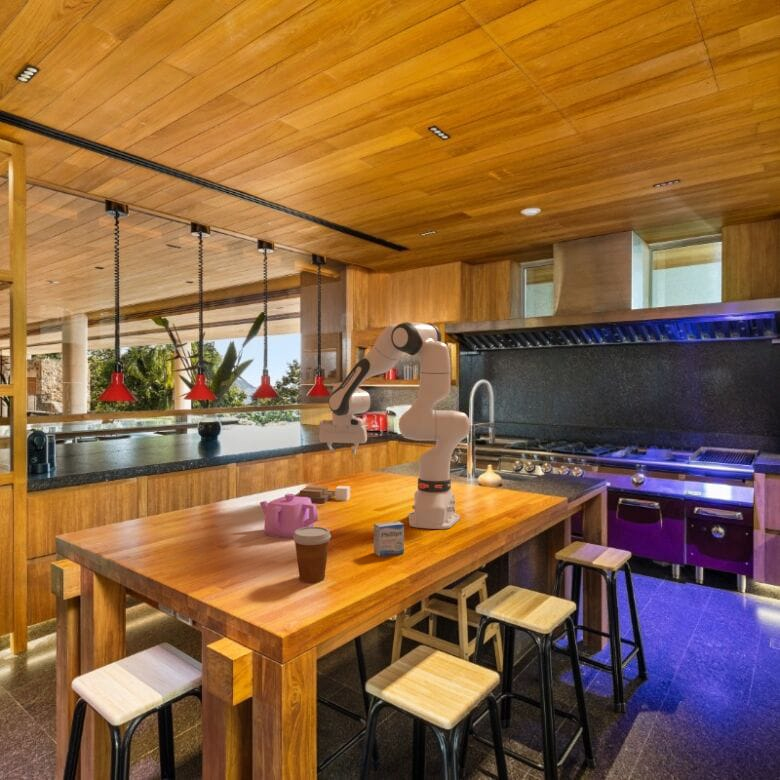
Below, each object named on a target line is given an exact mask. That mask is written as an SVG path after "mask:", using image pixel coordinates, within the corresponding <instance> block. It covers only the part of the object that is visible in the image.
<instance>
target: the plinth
mask: <svg viewBox="0 0 780 780" xmlns="http://www.w3.org/2000/svg"><path fill="white" fill-rule="evenodd" d="M294 495H295V497H308V498H310V499H311V503H312V504H325V503H327V502H328V501H330V500H331V499H333V498H334V497H335V490H329V489H328V487H327V486H326V487H325V486H306V487H304V488H302V489H300V490H299V492H298V493H296V494H294Z"/></svg>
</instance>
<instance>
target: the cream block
mask: <svg viewBox="0 0 780 780" xmlns="http://www.w3.org/2000/svg"><path fill="white" fill-rule="evenodd" d="M334 491H335V496H334V497H335V499H334V500H335V501H346V502H347V501H349V499H350V498H351V486H350V485H347V486H346V485H338V486H337V487H335V489H334Z"/></svg>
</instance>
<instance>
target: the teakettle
mask: <svg viewBox="0 0 780 780" xmlns="http://www.w3.org/2000/svg"><path fill="white" fill-rule="evenodd" d="M295 495H296V494H294V493H286V494H284V496H281V497H278V498H276V499H272V500H271V501H269V502H268V501H266V500H264V501H260V502H259V504H260V507H261V510H262V511H263V513H264V515H265V516H264V532H265V535H266V536H269V535H270V537H276V536H278V537H277V538H284V537H289V538H288V539H293V536H294V534H295V531H296V530H297V529H300V528H304V527H314V525H315V524H314V523H316V522H318V521H319V519H318V509H317V508H318V507H317V503H311V499H310V498H308V497H295Z"/></svg>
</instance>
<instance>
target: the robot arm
mask: <svg viewBox="0 0 780 780" xmlns="http://www.w3.org/2000/svg"><path fill="white" fill-rule="evenodd" d="M404 353H405V354H408V355H410V356H412V357H413V356H415V355H416V356H417V357H418V358H419V364H420V365H419V385H418V394H417V396H416V399H415V401H414V403H413V405H412V406H410V408H409V409H407V410H406V411H405V412H404V413H402V415H401V417H400V419H399V421H398V429H399V432H400V434H401V436H402V437H403V438H404V439H408V440H410V441H411V440H412V441H434V442H435V445H434V447H433V448H431V449H429V450H427V451H424V452H423V453H422V454H421V455H420V457H419V459H418V469H419V471H418V478H417V490H416V491H415V492H414V505H412V506H411V507H412V510H414V511H410V512H408V515H407V516H408V526H409V527H413V528H419V529H432V530H447V529H450V528H451V527H453V525H455V524H456V523H457V522H458V521H459V520H460V519H461V515H459V514H457V513H456V495H455V494H454V493H453V492H452V489H451V488H452V486H451V485H452V481H451V478H450V475H451V474H450V471H451V468H450V467H451V460H452V455H453V453H454V451H455V449H456V447H457V445H458V444H460V443H461V441H463V440H464V439H466V438H467V436H468V435H469V433H470V431H471V422H470V417H469V416H468V415H467V414H466V413H465V412H464V411H463V412H462V411H457V410H452V409H450V410H449V409H448V410H444V409H443V410H439V409H438V410H436V409H433V408H434V406H435V405H436V404H437V403H439V402H441V401H443V400H445V399H447V397H449V396H450V394H451V383H452V381H451V378H452V377H451V376H452V375H451V373H452V372H451V370H452V368H451V356H450V349H449V347H448V345H447V344H446V343H444V342H442V333H441V330H440V329H439V328H438V326H436V325H435V324H431V323H429V322H427V323H424V322H419V321H413V322H412V321H411V322H407V321H405V322H402V323H399V324H395V323H391V324H389V325H388V326H386V328H385V329H383V331H381V333H380V335H379V336H378V337H377V339H376V341H375V342H374V344H373V345H372V347H371V348H370V350H369V351H368V353H367V354H365V356H363V358H361V359H360V360H358V361H357V363H356V364H355V365H353V367H352V369H351V370H350V371H349V373H348V374H347V376H346V377H345V379H344V380H342V381H340V382H339V381H338V382H336V383H335V384H334V385H333V387H332V392H331V394H330V396H329V398H328V406H329V408H330V411H331V412H332V415H331V419H323V420H321V421H320V422H319V424H318V427H319V428H318V429H319V433H318V440H319V442H320V443H326V444H327V448H328V449H329V453H330V454H335V448H333V447H332V444H333V443H338V444H339V443H341V444H353V446H354V448H352V449H351V454H352V455H356V454H357V449H358V448H359V444H366V442H367V440H368V432H367V428H366V426H365V419H364V418H361V417H357V416H356V414H364V413H366V412H368V411H369V410H370V408H371V406H372V397H371V395H370V393H369V392H368V391H367V390H363V389H362V388H359V387H360V386H361V385H362V383H363V382H365V381H366V380H367V379H369V378H372V377H374V376H378V375H381V374H385V373H388V372H390V371H391V370H392V369H393V368H394V367H395V365H397V363H398V361H399V360H400V358H401V356H402V355H403V354H404Z"/></svg>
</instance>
